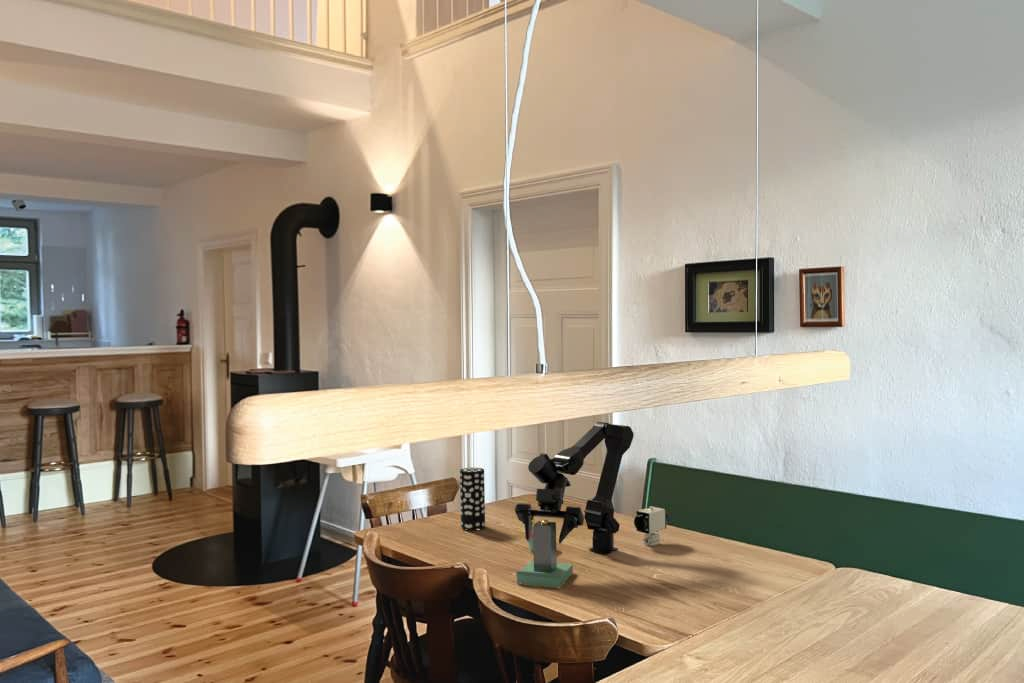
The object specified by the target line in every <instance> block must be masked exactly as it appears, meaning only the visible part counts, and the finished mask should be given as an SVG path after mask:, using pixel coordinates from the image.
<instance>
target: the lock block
mask: <svg viewBox="0 0 1024 683" xmlns="http://www.w3.org/2000/svg"><path fill="white" fill-rule="evenodd" d="M532 527H533V549H534V551H533V561H534V571H535V572H546V573H552V572H553V571H554V570H555V569H556V568H557V563H558V561H557V557H558V556H557V522H556V521H549V520H547V519H542V520H538V521H537V522H536V523H535V524H534V525H533V526H532Z"/></svg>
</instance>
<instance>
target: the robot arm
mask: <svg viewBox="0 0 1024 683" xmlns="http://www.w3.org/2000/svg"><path fill="white" fill-rule="evenodd" d="M634 433H635V432H634V431H633V429H632V427H630V426H629V425H622V424H611V423H609V422H603V421H596V422H595V423H593V426H592V428H590V429H589V430H588V431H587V432H586V433H585V434H584V435H583V436H582V437H581V438H580V439H578V441H576V442H575V444H574V445H572V446H571V447H568V448H565V449H563V450H561V451H560V452H558V453H556V454H555V455H554V457H553V458H550V457H549V455H548V454H547V453H544V452H541V453H540V454H539V455H538V456H536V457H534V458H533V459H532V460H531V461H529V463H528V468H527V469H528V472H530V473H531V474H532V475H533V476H534V477H535V479H537V481H538V482H540V483H542V484H545V487H544V488H537V489H536V496H535V501H536V502H537V505H538V507H539V508H533V507H532V504H531V503H522V502H518V503H517V504H515V508H514V513H515V515H516V517H517V519H518V521H519V522H521V523H522V524H523V525H524V534H525V533H526V539H525V540H526V541H527V542H528V541H529V538H530V535H531V530H532V527H533V522H532V520H533V518H534V519H535V517H540V518H541V517H543V518H551V519H553V518H554V519H555V518H556V519H563V522H562V526H561V529H560V534H559V536H558V544H562V543H563V541H564V540H565V539H566V537H568V535H569V534H570V533H571V532H572V531H573V530H574V529H577V528H579V526H580V527H581V526H583V525H584V521H585V524H586V526H587V527H586V528H587V530H591V531H592V537H591V538H592V540H591V541H592V547H589V549H588V551H590V552H595V553H597V554H598V553H599V554H601V555H607V554H611V553H613V552H617V551H618V550H619V549H618V547H615V546H614V544H615V543H614V538H615V537H614V535H615V534H617V533H618V532H619V531H620V523H619V522H618V520H616V518H615V517H614V516H615V515H614V514H615V509H614V504H613V496H614V492H615V487H616V483H617V479H618V475H619V473H620V468H621V463H622V459H623V456H624V455H625V453H626V452H627V451H628V450H630V447H631V445H632V442H633V440H634V436H635V435H634ZM602 441H604V444H605V449H606V453H605V458H604V461H603V465H602V469H601V474H600V477H599V481H598V486H597V489H596V492H595V493H596V494H595V496H594V497H593V498H591V499H587V501H586V504H585V505H586V506H585V509H584V511H582V509H581V506H574V505H573V506H571V505H568V506H566V507H565V510H562V505H563V504H564V502H565V501H564V496H565V491H566V488H567V487H571V482H570V481H569V480H568V477H567V476H565V475H568V476H569V475H570V476H576V475H577V474H578V473H579V471H580V470H581V468H582V467H583V466H584V462H585V461H584V460H585V459H586V457H587V456H588V455H589V454H590V453H592V451H593V450H595V449H596V447H597V446H598V445H599V444H601V443H602ZM583 513H584V514H583Z"/></svg>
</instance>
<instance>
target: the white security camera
mask: <svg viewBox="0 0 1024 683" xmlns="http://www.w3.org/2000/svg"><path fill="white" fill-rule="evenodd" d="M635 513H636V514H635V517H634V519H633V524H634V528H636V532H639V533H643V537H644V538H643V545H645V544H646V545H647V546H650V547H655V546H659V545H660V542H659V541H660V540H661V537H660V534H659V533H658V532H659V531H663V530H666V529H667V524H668V522H669V520H670V517H669V514H668V512H667V509H666V508H663V507H658V506H652V505H651V506H649V507H648V508H644V509H643V508H642V509H639V510H636V512H635ZM658 544H659V545H658ZM646 545H645V546H646Z"/></svg>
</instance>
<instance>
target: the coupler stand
mask: <svg viewBox="0 0 1024 683" xmlns="http://www.w3.org/2000/svg"><path fill="white" fill-rule="evenodd" d="M573 568H574V565H573V563H565V562H564V563H563V562H557V568H556V569H555V570H554V571H553V572H552V573H546V572H535V571H534V560H531V561H530V562H528V564H526V565H525V566H524V567H523V568H522V569H518V570H516V584H517V583H521V584H520V585H522V584H527V585H526V586H532V585H536V586H535V587H542V586H546V587H545V588H552V587H559V588H558V589H561V588H562V587H563V586H564V585H565V583H566V582H567V581H568V580H569V578H570V577H571V576H572V575H573V573H574V571H573V570H574V569H573ZM571 574H572V575H571ZM570 575H571V576H570ZM566 580H567V581H566ZM565 581H566V582H565ZM564 582H565V583H564ZM561 586H562V587H561ZM560 587H561V588H560Z"/></svg>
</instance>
